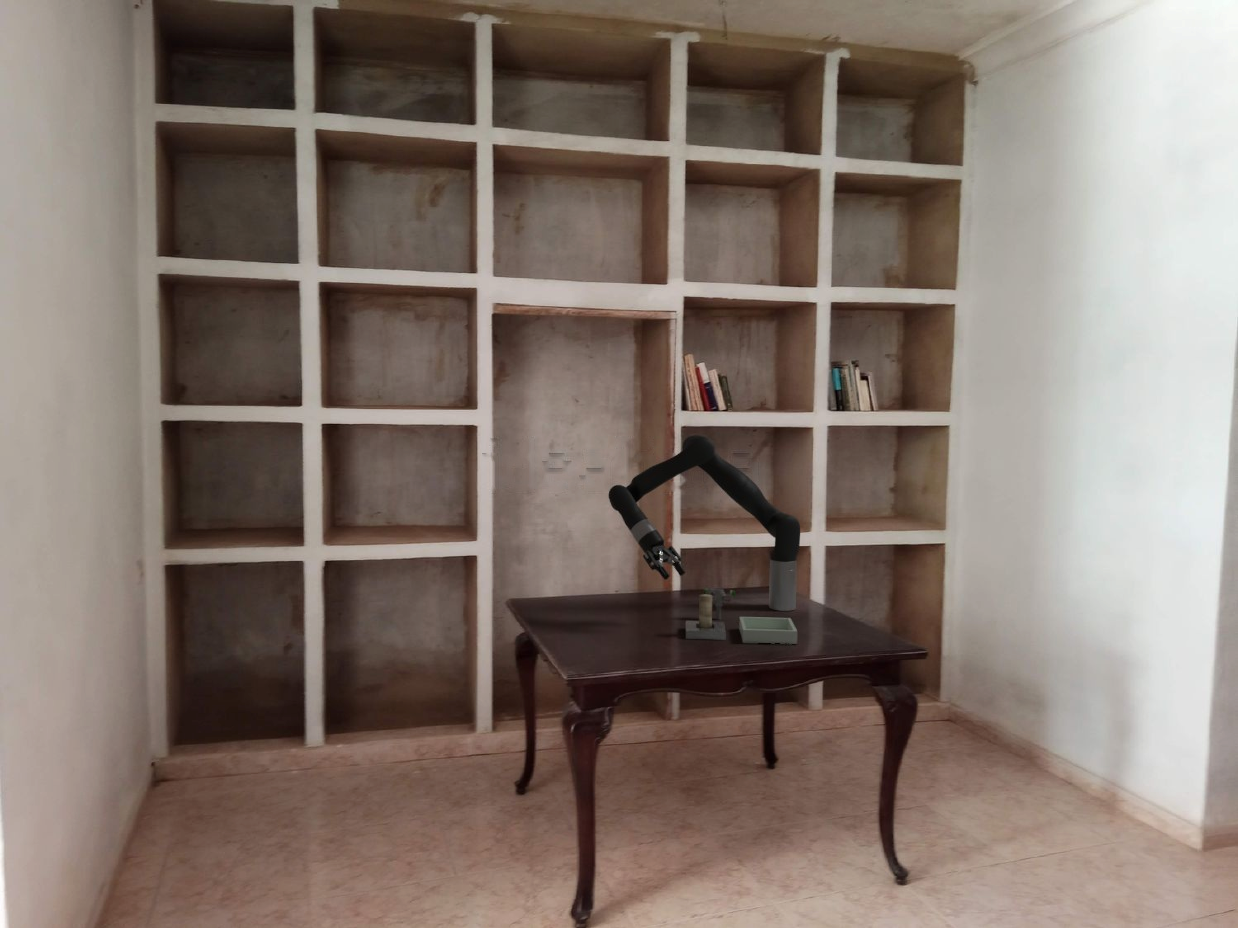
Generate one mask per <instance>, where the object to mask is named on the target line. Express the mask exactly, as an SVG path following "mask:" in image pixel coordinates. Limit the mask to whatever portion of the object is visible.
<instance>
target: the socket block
mask: <svg viewBox="0 0 1238 928" xmlns="http://www.w3.org/2000/svg"><path fill="white" fill-rule="evenodd" d="M726 632H727V631H726V626H725V622H724V621H715V620H714V621H713V620H712V629H709V628H699V620H685V639H688V640H689V639H690V640H714V641H715V640H718V641H719V640H720V641H723V640H724V641H726V637H727V636H726V634H727V633H726Z"/></svg>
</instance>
